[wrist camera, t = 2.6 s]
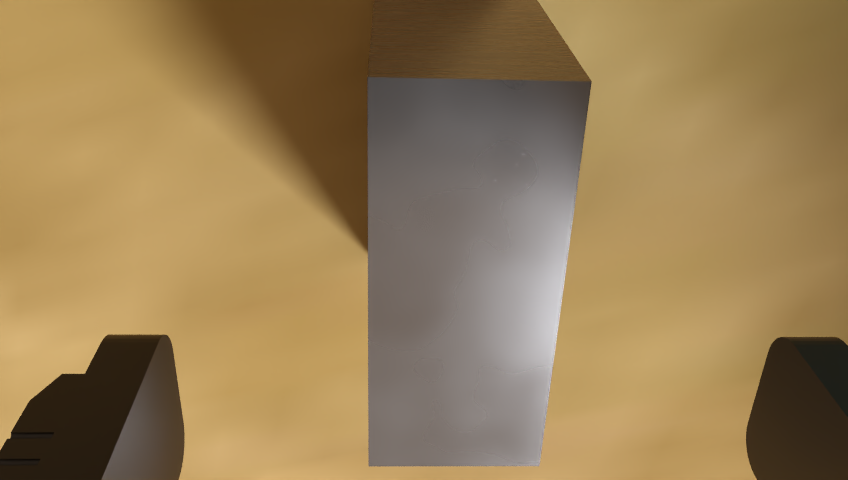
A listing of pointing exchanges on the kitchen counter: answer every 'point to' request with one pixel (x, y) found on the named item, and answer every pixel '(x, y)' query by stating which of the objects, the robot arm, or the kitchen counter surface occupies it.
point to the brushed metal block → (467, 226)
